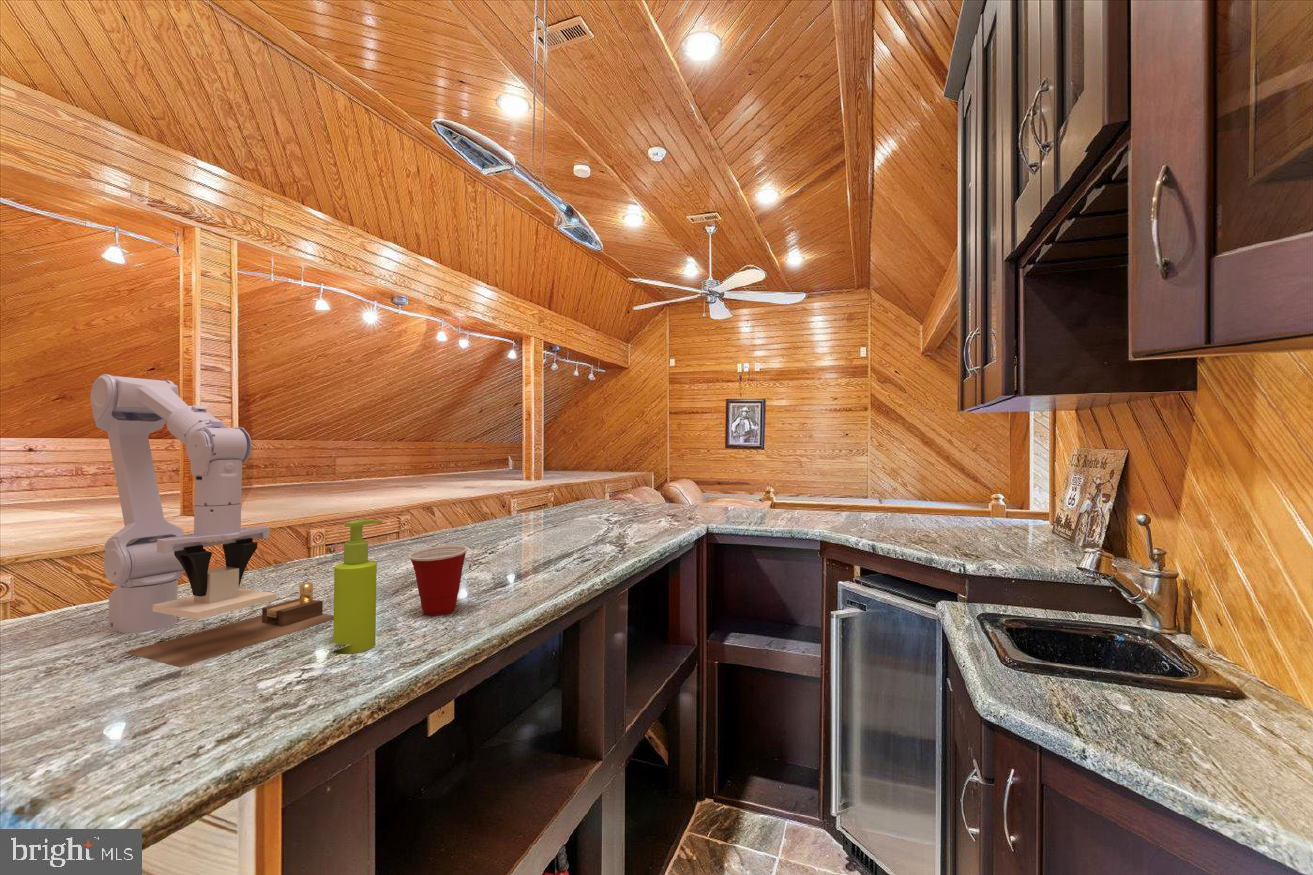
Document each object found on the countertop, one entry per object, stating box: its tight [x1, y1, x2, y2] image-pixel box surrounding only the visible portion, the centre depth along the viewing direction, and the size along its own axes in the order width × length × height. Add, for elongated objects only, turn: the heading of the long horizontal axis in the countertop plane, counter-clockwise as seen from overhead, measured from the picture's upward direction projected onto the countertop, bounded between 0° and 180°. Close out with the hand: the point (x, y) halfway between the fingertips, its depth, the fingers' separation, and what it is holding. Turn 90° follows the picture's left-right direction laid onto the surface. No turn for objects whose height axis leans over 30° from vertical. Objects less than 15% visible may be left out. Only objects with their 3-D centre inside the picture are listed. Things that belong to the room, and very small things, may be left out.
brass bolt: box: [267, 582, 317, 618], centre depth 95 cm, size 2×7×4 cm, turn 158°
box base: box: [124, 597, 334, 669], centre depth 88 cm, size 14×24×4 cm, turn 158°
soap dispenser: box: [332, 518, 383, 655], centre depth 87 cm, size 6×7×20 cm
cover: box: [153, 565, 277, 620], centre depth 84 cm, size 11×11×6 cm
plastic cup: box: [407, 544, 469, 617], centre depth 105 cm, size 11×11×12 cm
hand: (216, 591), depth 84 cm, fingers closed on cover, 4 cm apart
